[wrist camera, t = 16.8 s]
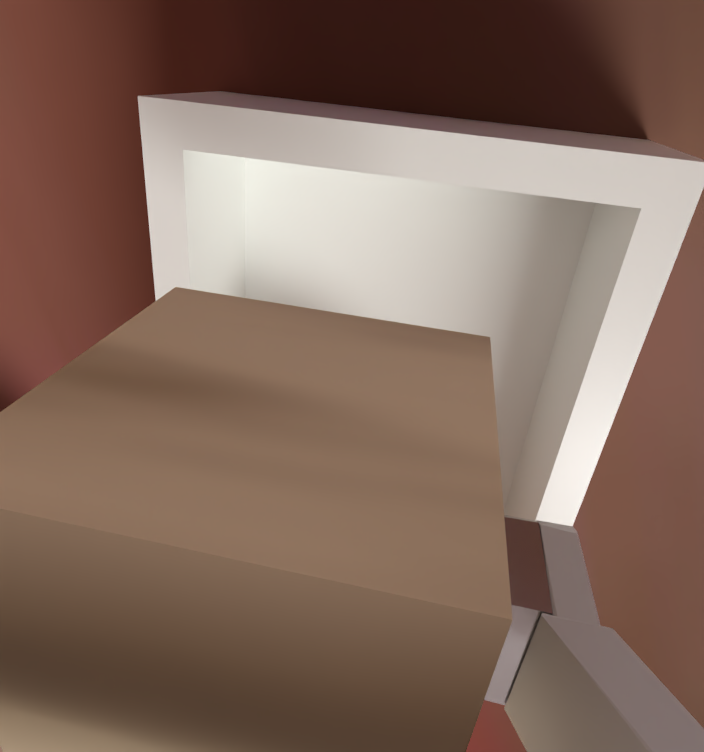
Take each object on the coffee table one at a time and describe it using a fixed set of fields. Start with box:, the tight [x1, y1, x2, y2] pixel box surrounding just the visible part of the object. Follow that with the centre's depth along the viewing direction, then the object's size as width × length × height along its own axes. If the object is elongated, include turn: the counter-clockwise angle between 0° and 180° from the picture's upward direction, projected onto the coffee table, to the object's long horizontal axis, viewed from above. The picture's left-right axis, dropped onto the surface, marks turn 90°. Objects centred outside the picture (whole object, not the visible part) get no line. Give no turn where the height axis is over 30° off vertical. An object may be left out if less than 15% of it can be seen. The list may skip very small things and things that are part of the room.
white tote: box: [138, 91, 704, 526], centre depth 21 cm, size 14×18×6 cm
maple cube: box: [0, 287, 512, 752], centre depth 8 cm, size 5×5×5 cm
